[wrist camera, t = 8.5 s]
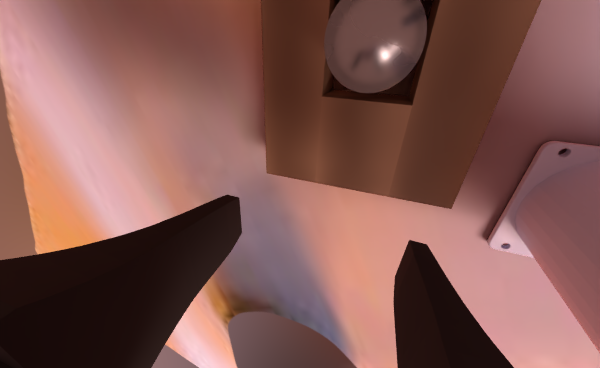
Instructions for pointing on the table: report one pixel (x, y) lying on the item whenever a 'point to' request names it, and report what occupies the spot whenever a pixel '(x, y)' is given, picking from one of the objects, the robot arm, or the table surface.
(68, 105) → the table surface
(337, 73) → the long steel peg
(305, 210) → the table surface
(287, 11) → the walnut board
